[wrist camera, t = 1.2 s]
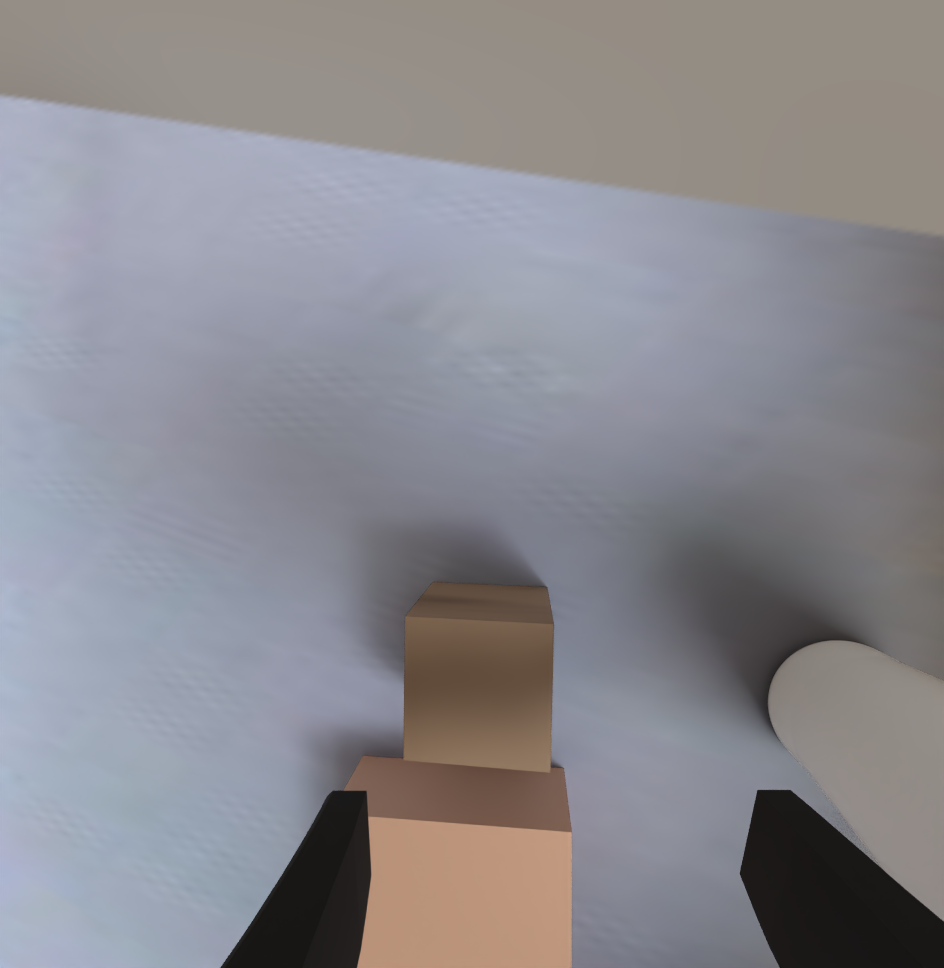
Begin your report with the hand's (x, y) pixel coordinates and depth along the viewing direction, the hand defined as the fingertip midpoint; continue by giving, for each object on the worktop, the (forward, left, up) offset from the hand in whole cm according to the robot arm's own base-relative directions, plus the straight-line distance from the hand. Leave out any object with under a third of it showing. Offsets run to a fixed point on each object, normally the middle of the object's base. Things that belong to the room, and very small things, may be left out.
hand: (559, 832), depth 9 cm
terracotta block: (-11, +3, -12) cm, 17 cm away
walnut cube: (-1, +2, -12) cm, 12 cm away
